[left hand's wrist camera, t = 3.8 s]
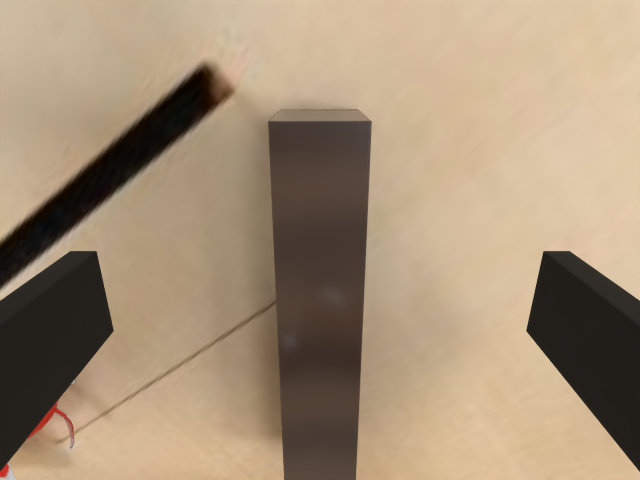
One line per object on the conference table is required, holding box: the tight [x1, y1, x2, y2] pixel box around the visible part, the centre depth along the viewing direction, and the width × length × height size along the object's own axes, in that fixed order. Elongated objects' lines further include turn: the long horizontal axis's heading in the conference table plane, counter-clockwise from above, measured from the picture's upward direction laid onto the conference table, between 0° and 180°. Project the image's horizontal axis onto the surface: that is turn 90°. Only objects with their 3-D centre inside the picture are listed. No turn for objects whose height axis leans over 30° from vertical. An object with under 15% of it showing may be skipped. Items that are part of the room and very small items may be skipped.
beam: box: [268, 110, 372, 480], centre depth 28 cm, size 28×5×7 cm, turn 0°
